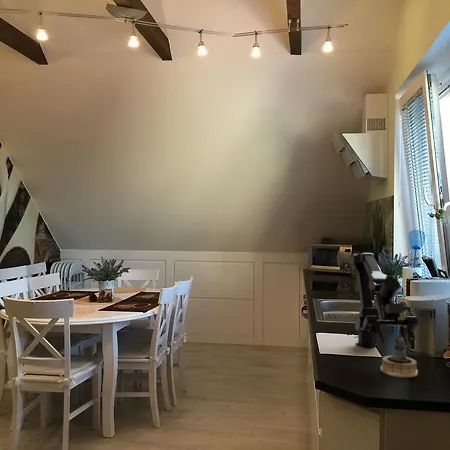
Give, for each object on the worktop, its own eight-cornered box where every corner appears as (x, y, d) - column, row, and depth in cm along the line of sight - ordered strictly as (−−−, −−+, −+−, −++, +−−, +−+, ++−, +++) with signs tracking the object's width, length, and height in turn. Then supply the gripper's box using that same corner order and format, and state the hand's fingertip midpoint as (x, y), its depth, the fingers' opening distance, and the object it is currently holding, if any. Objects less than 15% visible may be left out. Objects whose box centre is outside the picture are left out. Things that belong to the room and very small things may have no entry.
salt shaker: (388, 365, 175) (389, 331, 175) (406, 366, 174) (407, 332, 174) (391, 370, 170) (392, 335, 169) (409, 372, 168) (410, 336, 168)
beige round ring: (373, 369, 174) (373, 357, 173) (395, 364, 180) (396, 353, 180) (402, 379, 163) (402, 367, 163) (425, 374, 170) (425, 362, 170)
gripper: (366, 293, 179) (376, 331, 168) (418, 294, 180) (430, 332, 169) (358, 310, 187) (367, 348, 176) (408, 311, 188) (419, 348, 177)
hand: (396, 344), depth 175 cm, fingers open, 9 cm apart
